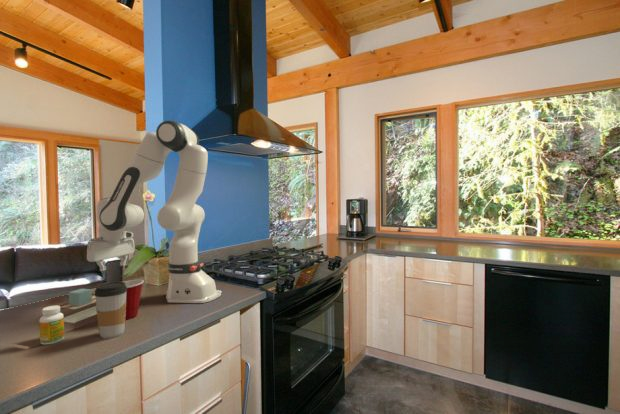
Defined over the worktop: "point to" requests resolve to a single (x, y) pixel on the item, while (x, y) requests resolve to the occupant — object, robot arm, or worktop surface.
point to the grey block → (81, 315)
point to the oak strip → (80, 306)
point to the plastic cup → (133, 297)
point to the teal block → (80, 297)
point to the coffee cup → (111, 308)
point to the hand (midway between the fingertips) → (113, 268)
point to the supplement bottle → (51, 325)
